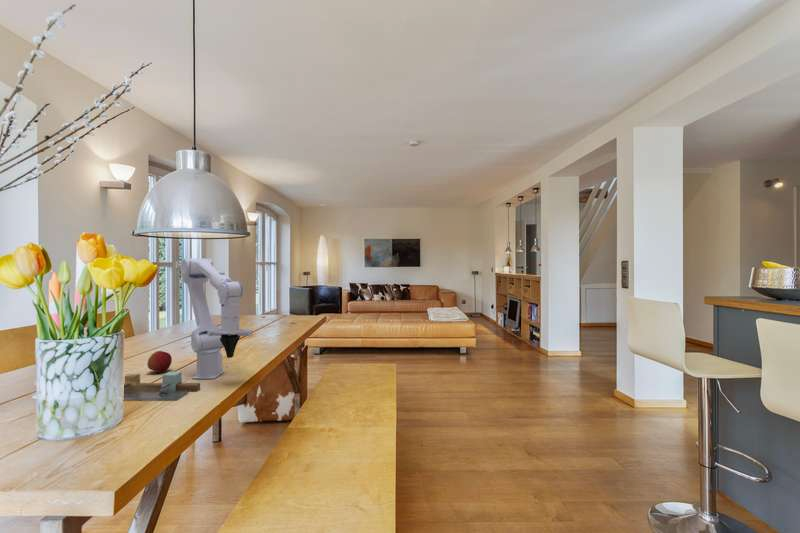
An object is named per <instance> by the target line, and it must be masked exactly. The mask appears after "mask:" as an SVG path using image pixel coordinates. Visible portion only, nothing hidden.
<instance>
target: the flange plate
mask: <svg viewBox="0 0 800 533" xmlns="http://www.w3.org/2000/svg"><path fill="white" fill-rule="evenodd" d="M187 394H189V392H188V390H163V393H160V390H124V401H125V400H126V401H127V400H144V401H143V402H145V400H146V401H151V402H152V401H154V402H155V401H168V402H169V401H170V402H171V401H178V400H180V399H181V398H183V397H185V396H186V395H187ZM124 401H123V402H124ZM127 402H128V401H127Z"/></svg>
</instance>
